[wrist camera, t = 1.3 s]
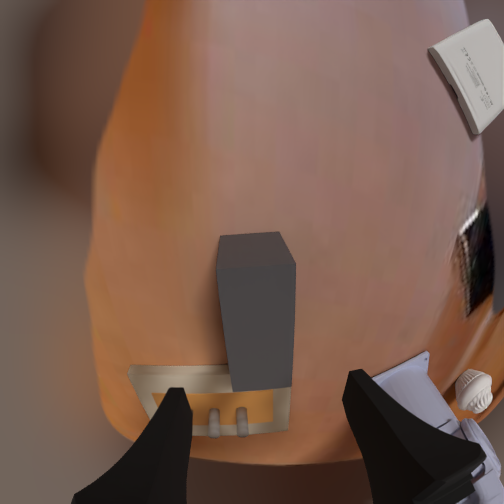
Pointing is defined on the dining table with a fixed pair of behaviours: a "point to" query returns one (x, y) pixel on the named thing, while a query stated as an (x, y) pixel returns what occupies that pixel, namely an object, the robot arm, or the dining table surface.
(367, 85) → the dining table surface
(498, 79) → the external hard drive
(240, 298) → the block
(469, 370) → the muffin
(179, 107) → the dining table surface
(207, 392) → the board
